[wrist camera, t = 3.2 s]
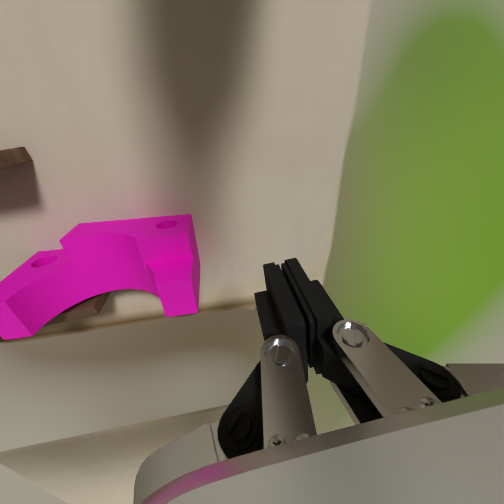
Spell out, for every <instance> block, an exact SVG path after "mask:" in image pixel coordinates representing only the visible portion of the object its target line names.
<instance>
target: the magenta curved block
mask: <svg viewBox="0 0 504 504" xmlns="http://www.w3.org/2000/svg"><path fill="white" fill-rule="evenodd" d="M59 241H60V243H61V245H62V247H63V248H64V249H60V250H49V251H39V252H37V253H36V254H34V255H33V256H32V257H31V258H30V259H28V260H27V261H26V262H25V263H23V264H22V265H21V266H20V267H18V268H17V269H16V270H15V271H13V272H12V273H11V274H10V275H8V276H7V277H6V278H5V279H3V280H2V281H1V282H0V336H1V337H2V338H3V339H4V340H7V339H15V338H22V337H29V336H33V335H34V334H35V333H36V332H37V331H38V330H39V329H40V328H41V327H42V326H43V325H45V324H46V323H47V322H48V321H50V320H51V319H52V318H54V317H55V316H56V315H58V314H59V313H61V312H62V311H64V310H66V309H67V308H69V307H71V306H73V305H75V304H77V303H79V302H81V301H83V300H85V299H88V298H90V297H93V296H96V295H98V294H102V293H105V292H109V291H114V290H121V289H139V290H144V291H148V292H150V293H153V294H154V295H156V296H157V297H159V298H160V300H161V303H162V306H163V309H164V312H165V315H166V317H171V316H178V315H185V314H192V313H198V302H199V281H200V261H199V255H198V250H197V244H196V238H195V233H194V227H193V222H192V216H191V214H187V215H175V216H163V217H151V218H140V219H128V220H116V221H104V222H92V223H81V224H78V225H77V226H76V227H74V228H73V229H72V230H71V231H70V232H69V233H67V234H66V235H65V236H64V237H63V238H61V239H60V240H59Z"/></svg>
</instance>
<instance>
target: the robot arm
mask: <svg viewBox="0 0 504 504" xmlns="http://www.w3.org/2000/svg"><path fill="white" fill-rule="evenodd" d="M263 268H264V275H265V282H266V289H267V291H262V292H257V293H254V295H255V301H256V306H257V311H258V315H259V320H260V324H261V328H262V332H263V336H264V341H265V342H264V343H263V345H262V347H261V351H260V362H259V363H258V364H257V366H256V367H255V369H254V370H253V372H252V373H251V374H250V376H249V377H248V379H247V380H246V382H245V383H244V385H243V386H242V387H241V389H240V391H239V392H238V393H237V395H236V396H235V398H234V399H233V401H232V402H231V403H230V405H229V406H228V408H227V409H226V411H225V412H224V414H223V415H222V417H221V419H219V420H217V421H216V422H214V423H212V424H210V423H209V422H208V423H207V424H205V425H203V426H201V427H199V428H197V429H195V430H193V431H192V432H190V433H188V434H186V435H184V436H182V437H180V438H179V439H177V440H175V441H173V442H171V443H169V444H167V445H165V446H164V447H162V448H160V449H158V450H156V451H154V452H153V453H152V454H151V455H149V456H148V457H147V458H146V459H145V461H144V462H143V463H142V465H141V466H140V469H139V471H138V473H137V475H136V480H135V485H134V504H504V364H446V366H441V365H439V364H437V363H434V362H432V361H430V360H427V359H425V358H422V357H420V356H417V355H414V354H412V353H409V352H407V351H404V350H402V349H399V348H396V347H394V346H391V345H389V344H386V343H384V342H382V341H381V340H380V339H379V338H378V337H377V336H376V334H375V333H373V331H372V330H371V329H370V328H369V327H367V326H366V325H365V324H363V323H361V322H359V321H356V320H352V319H346V320H344V318H343V317H342V316H341V314H340V313H339V311H338V309H337V308H336V306H335V305H334V304H333V302H332V300H331V299H330V297H329V296H328V294H327V293H326V291H325V290H324V288H323V287H322V285H321V284H320V282H319V281H318V280H313V281H310V280H309V278H308V277H307V275H306V273H305V272H304V270H303V268H302V267H301V265H300V264H299V262H298V260H297V259H296V258H292V259H288V260H285V263H282V264H281V268H282V270H281V268H280V266H279V264H278V265H275V264H274V262H273V263H269V264H264V265H263ZM308 365H309V367H310V368H311V367H314V369H315V372H316V374H322V376H323V377H324V378H326V379H328V380H330V383H331V386H332V388H333V389H334V391H335V392H336V394H337V396H338V397H339V399H340V401H341V402H342V404H343V405H344V407H345V408H346V410H347V412H348V414H349V415H350V417H351V419H352V420H353V422H354V423H355V425H354V426H350V427H346V428H342V429H338V430H335V431H331V432H327V433H323V434H319V435H317V433H316V429H315V424H314V419H313V414H312V409H311V404H310V400H309V395H308V390H307V385H306V384H307V381H308Z"/></svg>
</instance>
